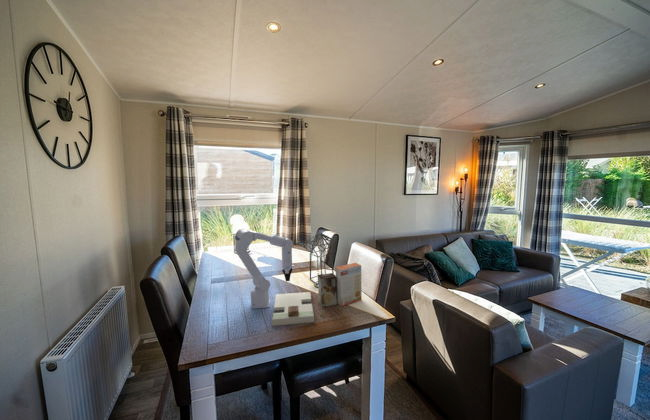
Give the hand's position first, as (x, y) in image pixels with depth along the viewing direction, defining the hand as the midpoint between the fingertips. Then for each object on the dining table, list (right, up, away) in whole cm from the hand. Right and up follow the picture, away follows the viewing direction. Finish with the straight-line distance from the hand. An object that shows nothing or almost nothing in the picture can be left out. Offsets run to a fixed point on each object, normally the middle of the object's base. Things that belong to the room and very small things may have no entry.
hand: (287, 280), depth 144 cm
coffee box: (+23, -10, -8) cm, 27 cm away
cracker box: (+35, -10, -6) cm, 37 cm away
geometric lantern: (+19, -8, +15) cm, 26 cm away
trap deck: (+5, -11, -13) cm, 18 cm away
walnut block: (+6, -10, -23) cm, 26 cm away
